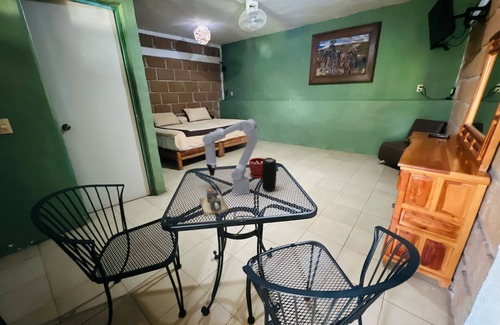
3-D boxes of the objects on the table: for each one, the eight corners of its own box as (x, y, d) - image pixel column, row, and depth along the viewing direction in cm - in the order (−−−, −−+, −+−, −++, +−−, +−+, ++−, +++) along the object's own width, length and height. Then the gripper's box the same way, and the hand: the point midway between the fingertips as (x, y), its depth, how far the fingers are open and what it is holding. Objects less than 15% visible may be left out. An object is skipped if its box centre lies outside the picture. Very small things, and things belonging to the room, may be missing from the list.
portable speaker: (262, 193, 121) (262, 162, 115) (261, 186, 130) (261, 157, 124) (276, 192, 121) (277, 161, 115) (274, 186, 130) (275, 157, 124)
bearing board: (221, 197, 117) (220, 186, 115) (228, 210, 103) (228, 199, 101) (200, 201, 113) (198, 190, 111) (205, 216, 99) (203, 204, 97)
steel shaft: (213, 194, 115) (213, 188, 114) (221, 210, 99) (221, 202, 98) (206, 195, 114) (206, 189, 112) (213, 211, 98) (213, 204, 96)
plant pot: (245, 175, 148) (245, 160, 144) (258, 171, 156) (258, 156, 152) (258, 181, 138) (258, 164, 135) (271, 175, 147) (271, 160, 143)
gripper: (201, 151, 125) (203, 172, 129) (205, 158, 112) (207, 180, 116) (213, 150, 127) (214, 170, 132) (218, 156, 114) (219, 178, 119)
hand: (212, 175), depth 124 cm, fingers closed
